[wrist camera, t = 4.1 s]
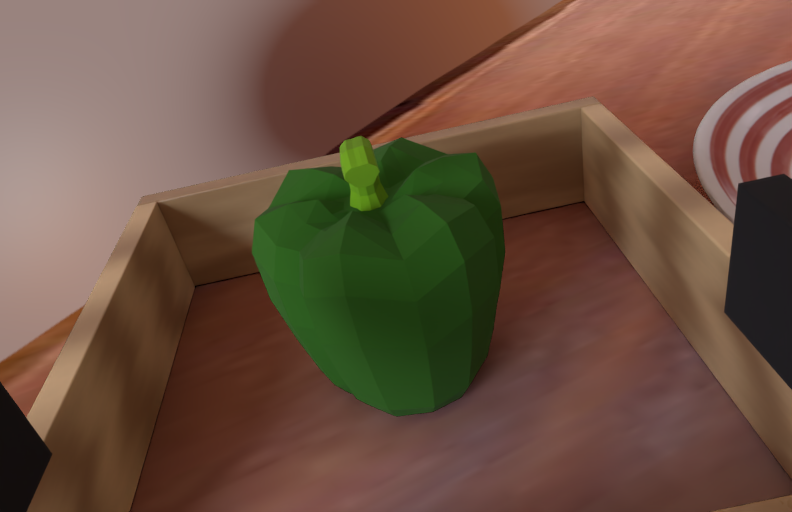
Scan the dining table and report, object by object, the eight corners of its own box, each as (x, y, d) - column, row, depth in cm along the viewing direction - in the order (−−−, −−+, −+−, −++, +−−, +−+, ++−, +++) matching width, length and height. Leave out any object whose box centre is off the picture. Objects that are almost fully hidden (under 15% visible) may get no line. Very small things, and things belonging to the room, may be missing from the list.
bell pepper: (342, 297, 29) (278, 86, 24) (525, 296, 27) (500, 61, 21) (270, 445, 23) (160, 200, 17) (504, 462, 20) (460, 182, 15)
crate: (881, 542, 16) (933, 403, 13) (36, 714, 17) (-78, 614, 14) (596, 188, 33) (593, 95, 30) (180, 279, 33) (141, 195, 31)
